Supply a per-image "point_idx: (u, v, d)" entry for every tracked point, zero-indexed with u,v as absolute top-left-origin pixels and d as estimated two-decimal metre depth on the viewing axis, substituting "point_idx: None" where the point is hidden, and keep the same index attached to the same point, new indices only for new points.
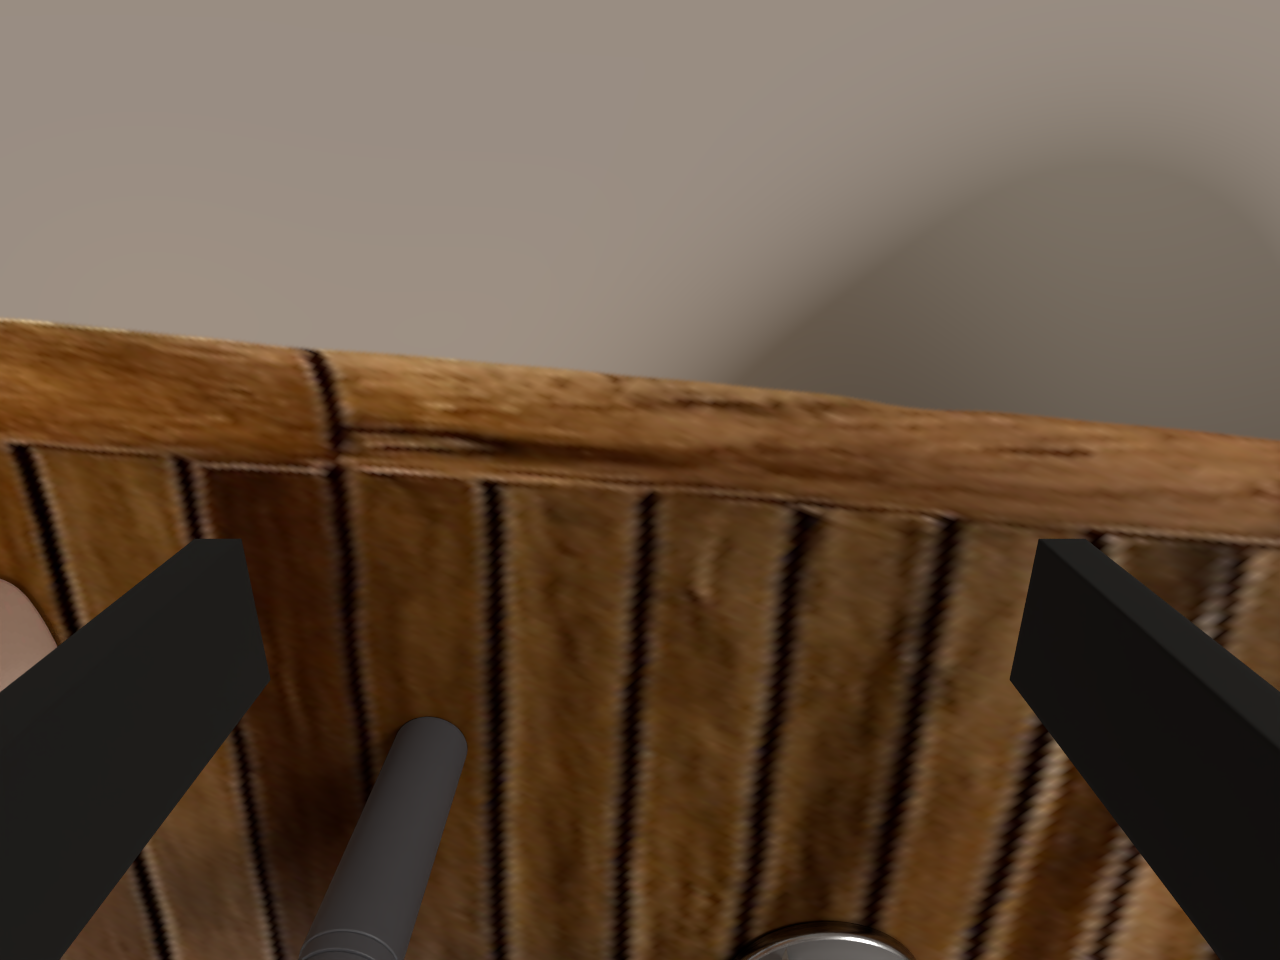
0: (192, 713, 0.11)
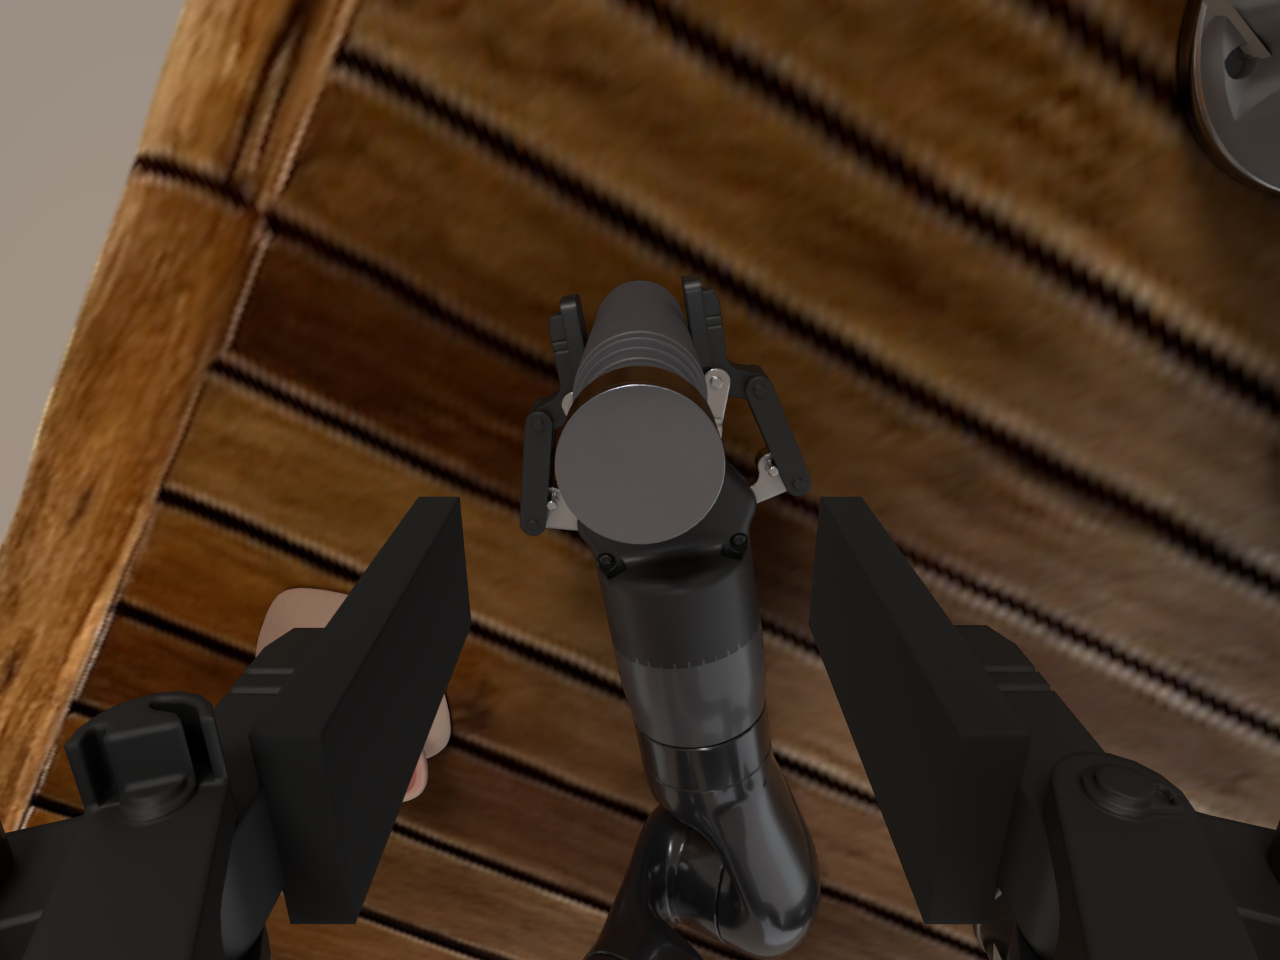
0: (440, 643, 0.13)
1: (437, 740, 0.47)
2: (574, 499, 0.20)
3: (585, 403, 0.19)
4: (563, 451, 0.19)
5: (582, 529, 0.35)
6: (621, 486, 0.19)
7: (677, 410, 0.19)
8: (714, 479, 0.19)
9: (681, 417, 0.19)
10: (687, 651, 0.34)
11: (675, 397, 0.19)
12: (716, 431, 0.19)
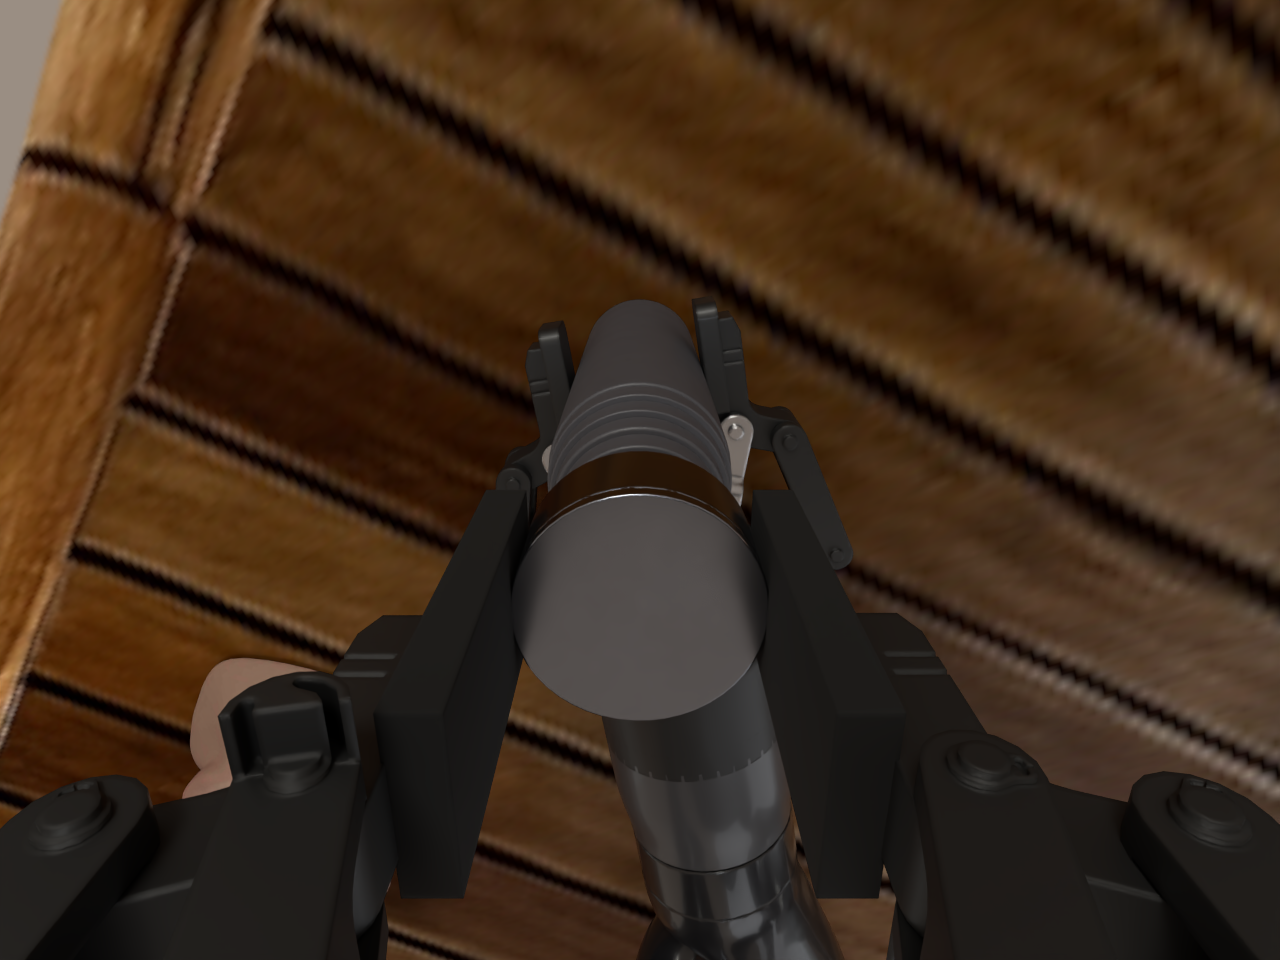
0: None
1: None
2: (540, 659, 0.13)
3: (554, 522, 0.12)
4: (522, 591, 0.12)
5: None
6: (611, 640, 0.13)
7: (697, 532, 0.12)
8: (752, 631, 0.13)
9: (703, 542, 0.12)
10: (698, 762, 0.28)
11: (694, 513, 0.12)
12: (757, 562, 0.12)
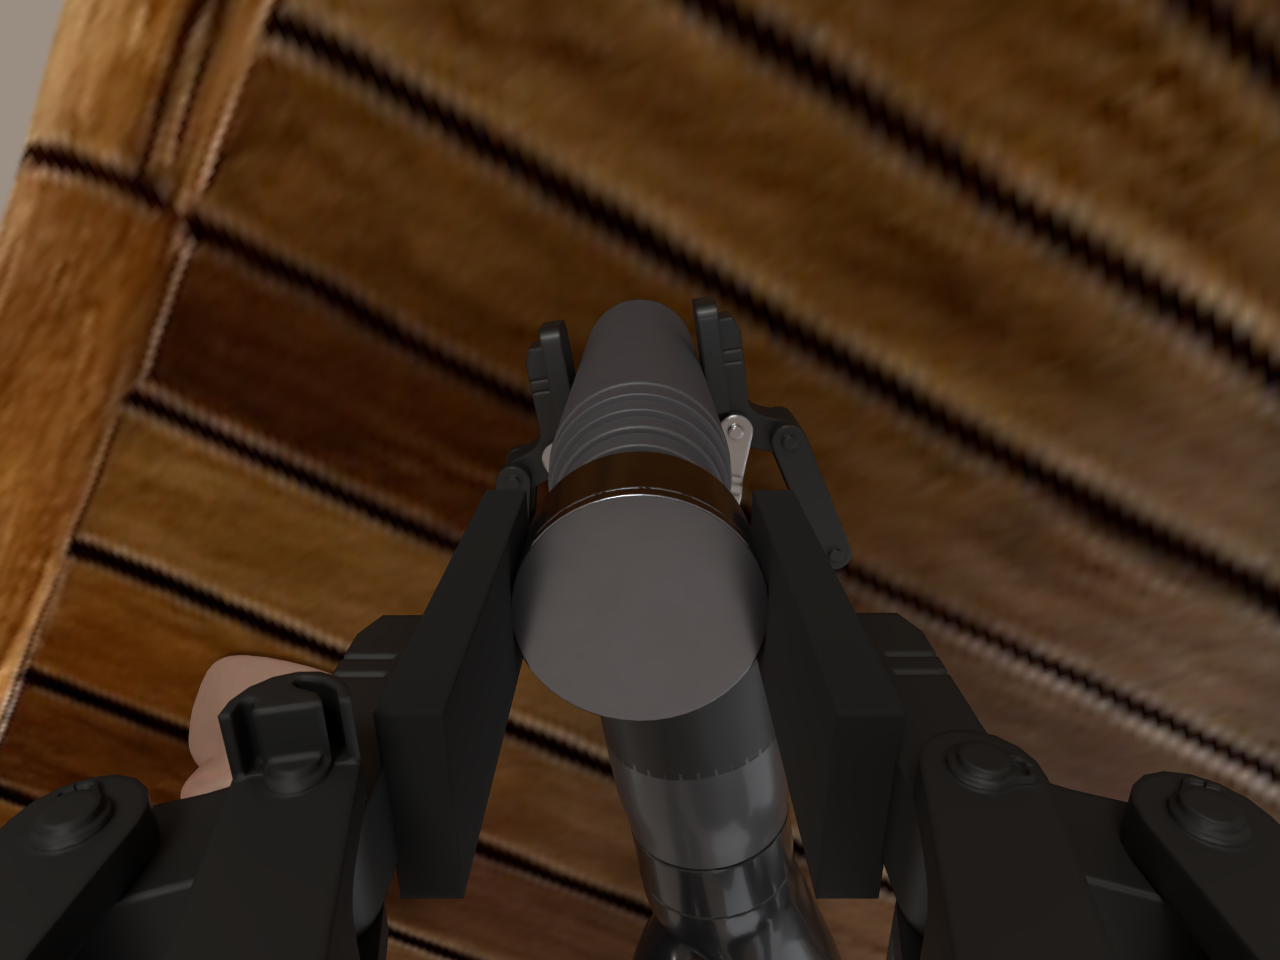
0: None
1: None
2: (717, 682, 0.13)
3: None
4: (647, 713, 0.13)
5: None
6: (676, 630, 0.13)
7: (535, 591, 0.12)
8: (624, 508, 0.12)
9: (544, 583, 0.12)
10: (696, 760, 0.28)
11: (517, 599, 0.13)
12: (547, 529, 0.12)
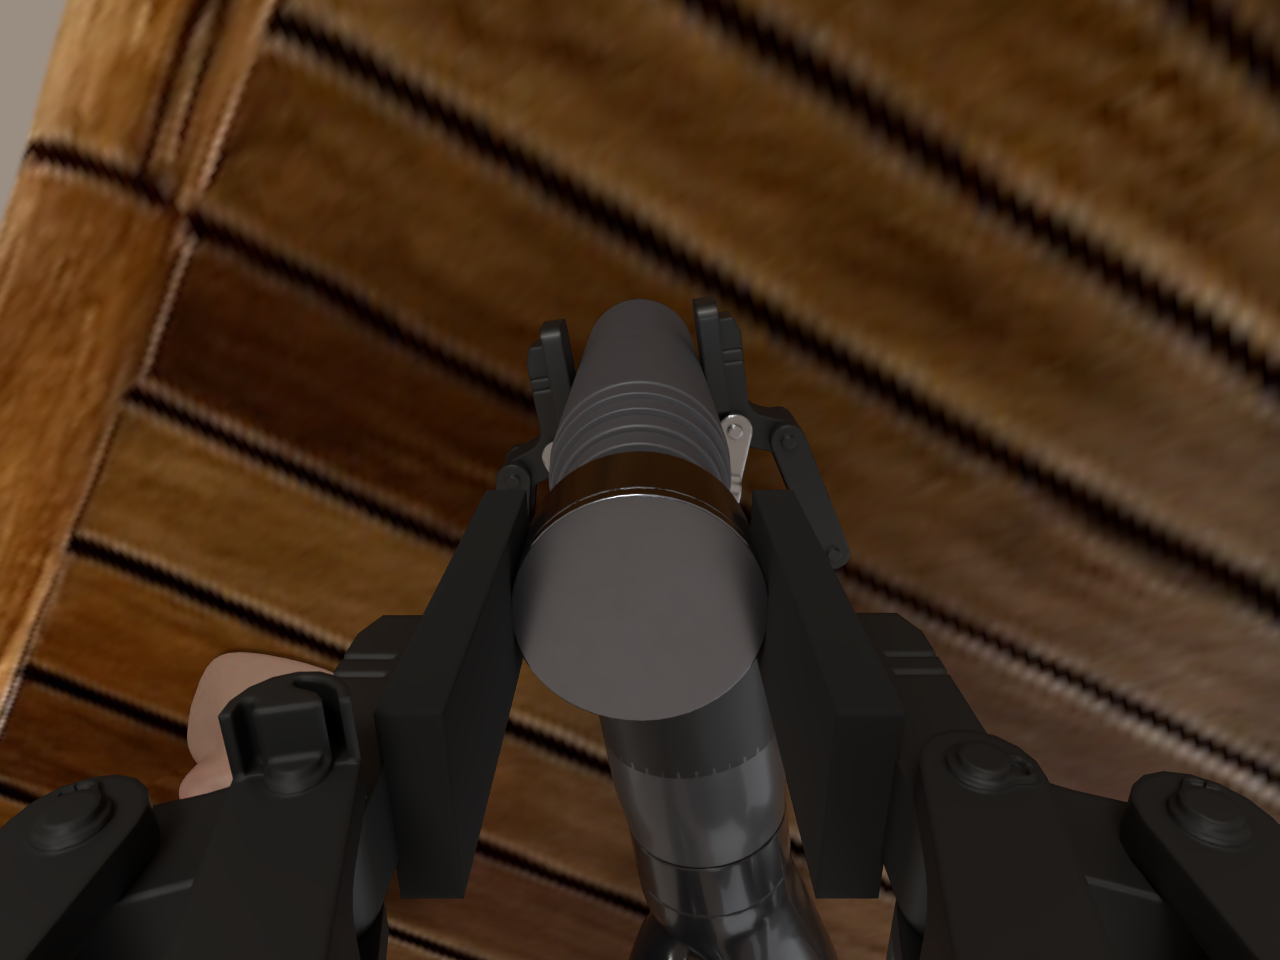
0: None
1: None
2: (697, 522, 0.12)
3: None
4: (753, 576, 0.12)
5: None
6: (647, 578, 0.12)
7: (644, 703, 0.13)
8: (536, 655, 0.13)
9: (633, 698, 0.13)
10: (694, 759, 0.28)
11: (657, 714, 0.13)
12: (580, 706, 0.13)
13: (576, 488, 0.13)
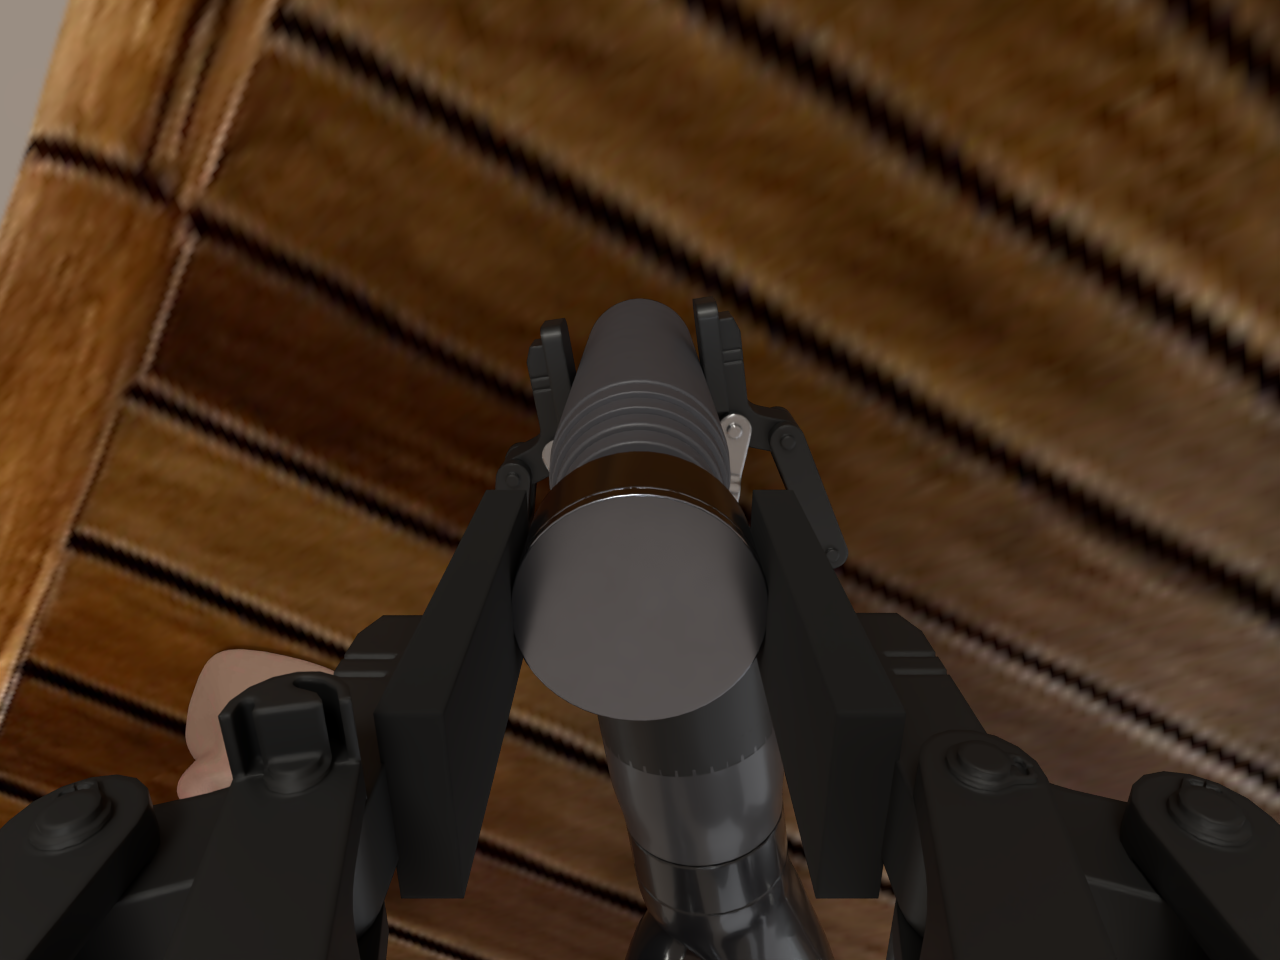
0: None
1: None
2: (526, 594, 0.13)
3: (640, 494, 0.12)
4: (562, 530, 0.12)
5: None
6: (598, 619, 0.13)
7: (741, 583, 0.12)
8: (713, 687, 0.13)
9: (738, 594, 0.13)
10: (692, 757, 0.28)
11: (752, 567, 0.12)
12: (763, 637, 0.13)
13: None
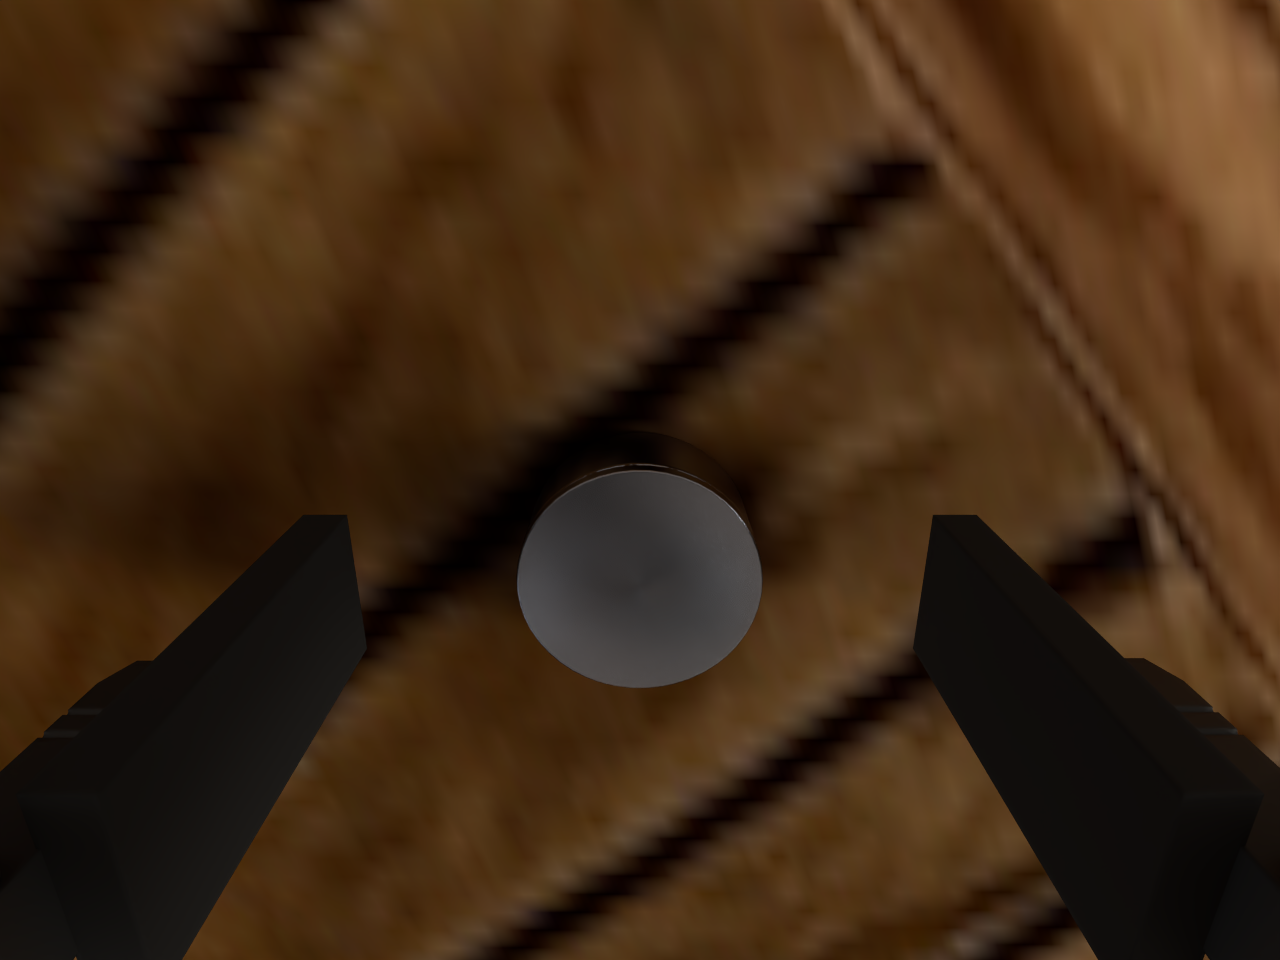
0: (313, 673, 0.12)
1: None
2: (532, 566, 0.13)
3: (640, 471, 0.13)
4: (567, 504, 0.13)
5: None
6: (600, 590, 0.13)
7: (735, 555, 0.13)
8: (709, 655, 0.14)
9: (733, 566, 0.13)
10: None
11: (746, 540, 0.13)
12: (756, 607, 0.14)
13: None
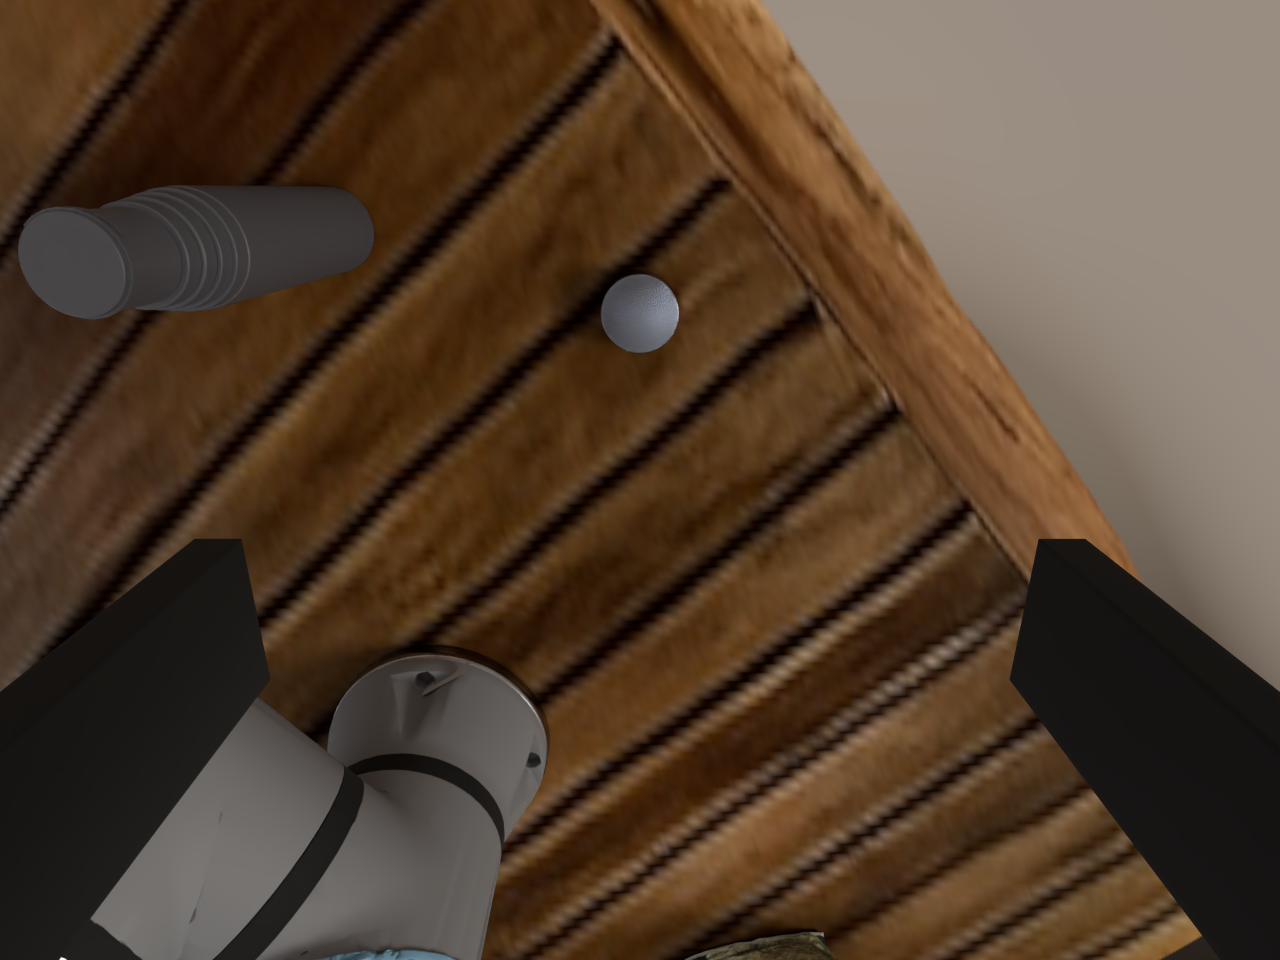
0: (192, 713, 0.11)
1: None
2: (606, 307, 0.42)
3: (640, 274, 0.42)
4: (617, 285, 0.42)
5: None
6: (627, 316, 0.42)
7: (669, 303, 0.42)
8: (662, 340, 0.43)
9: (669, 307, 0.42)
10: None
11: (673, 298, 0.42)
12: (677, 322, 0.42)
13: None
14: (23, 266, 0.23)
